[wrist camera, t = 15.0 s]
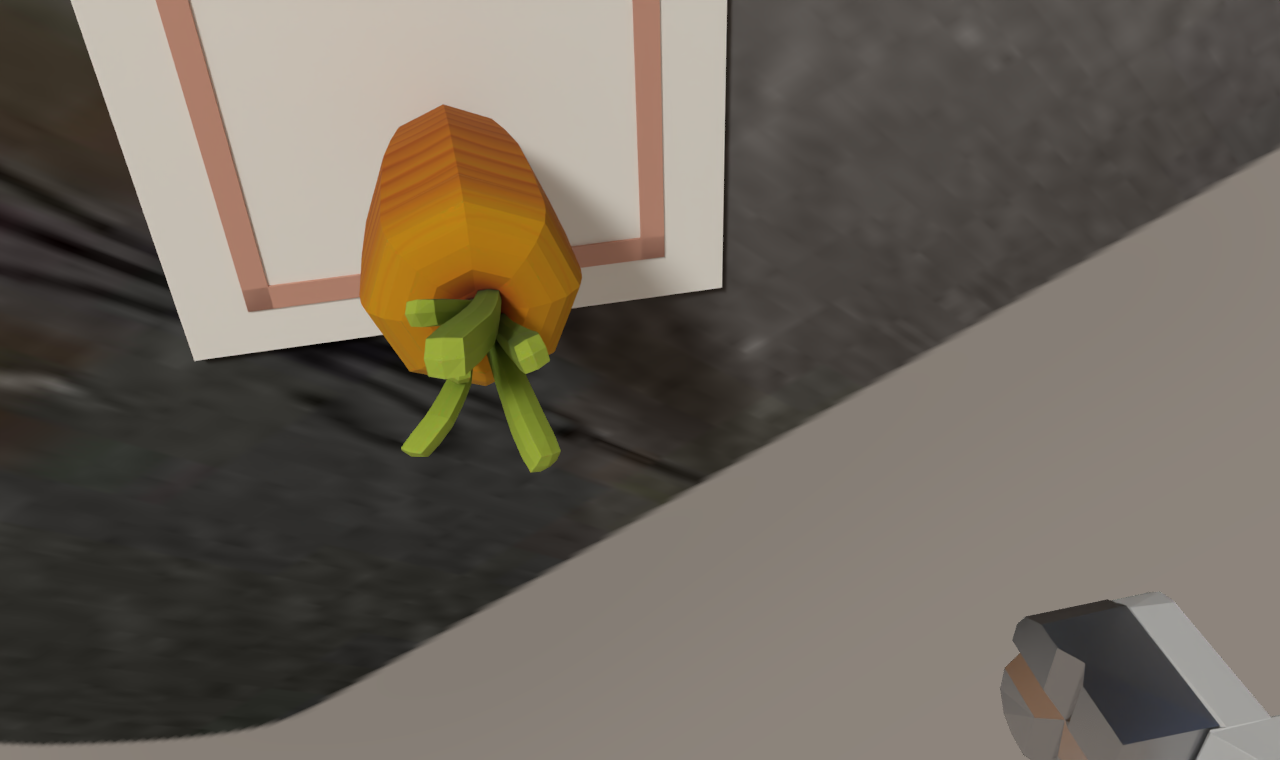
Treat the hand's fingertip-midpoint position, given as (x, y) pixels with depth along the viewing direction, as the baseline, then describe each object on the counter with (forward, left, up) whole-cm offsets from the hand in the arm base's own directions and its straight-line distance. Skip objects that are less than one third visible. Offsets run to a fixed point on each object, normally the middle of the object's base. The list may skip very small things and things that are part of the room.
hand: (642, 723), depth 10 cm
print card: (+1, +3, -24) cm, 25 cm away
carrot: (+1, +3, -24) cm, 24 cm away
